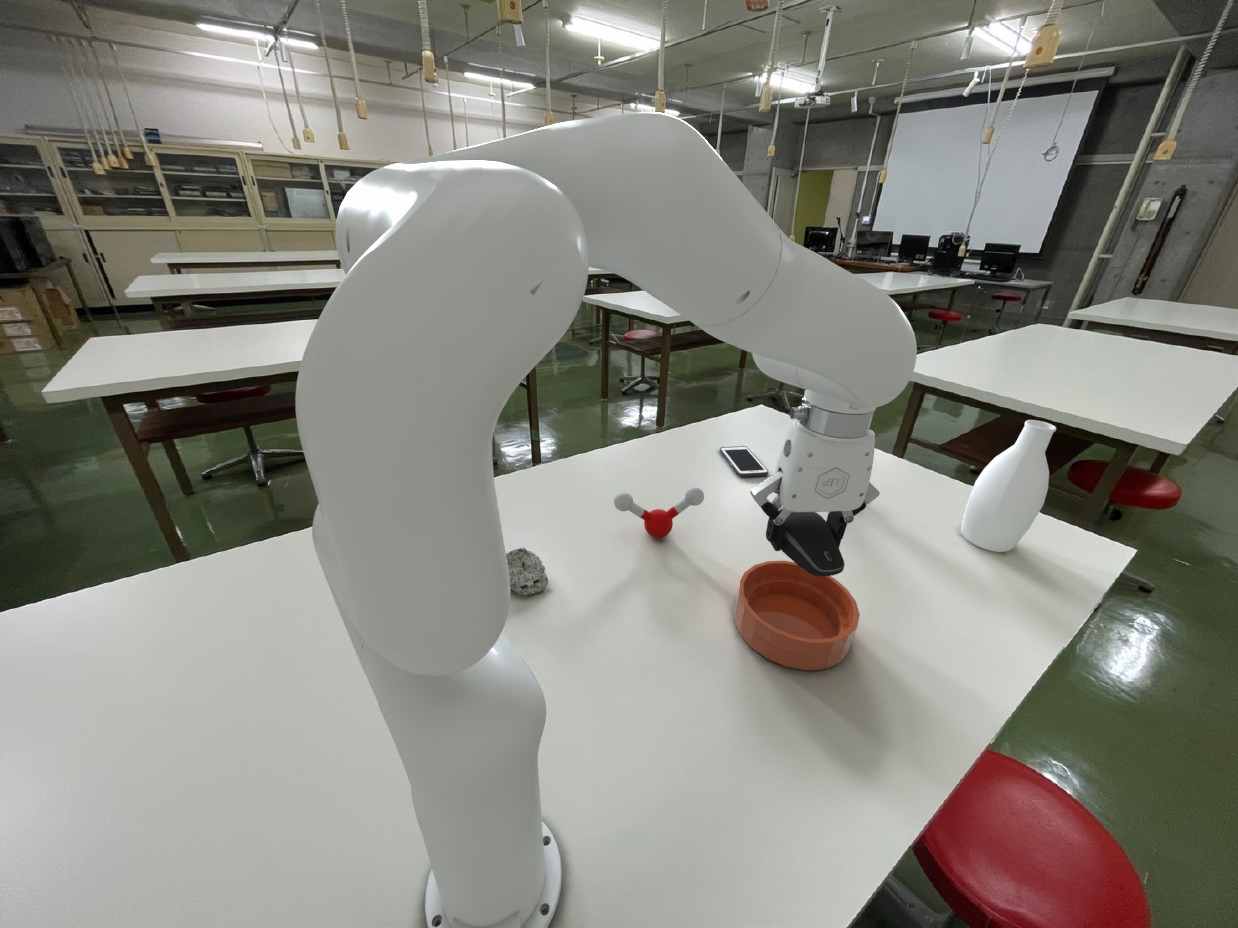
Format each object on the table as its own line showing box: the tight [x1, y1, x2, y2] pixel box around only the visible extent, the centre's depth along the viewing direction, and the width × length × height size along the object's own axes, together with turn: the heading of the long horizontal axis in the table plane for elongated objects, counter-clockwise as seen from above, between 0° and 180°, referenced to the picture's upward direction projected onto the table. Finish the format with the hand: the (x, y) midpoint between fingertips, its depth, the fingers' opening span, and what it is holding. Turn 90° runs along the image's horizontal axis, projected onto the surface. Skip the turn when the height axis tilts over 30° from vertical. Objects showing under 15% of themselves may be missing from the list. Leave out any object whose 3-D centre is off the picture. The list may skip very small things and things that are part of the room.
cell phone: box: [719, 445, 769, 478], centre depth 126 cm, size 8×15×1 cm, turn 10°
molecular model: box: [613, 486, 705, 539], centre depth 96 cm, size 18×6×10 cm, turn 107°
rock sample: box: [506, 547, 549, 596], centre depth 84 cm, size 10×8×9 cm
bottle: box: [960, 419, 1057, 553], centre depth 95 cm, size 11×11×25 cm
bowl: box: [733, 560, 861, 671], centre depth 77 cm, size 17×17×6 cm
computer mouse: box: [766, 512, 845, 577], centre depth 64 cm, size 7×12×4 cm, turn 15°
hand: (802, 542), depth 65 cm, fingers closed on computer mouse, 7 cm apart
